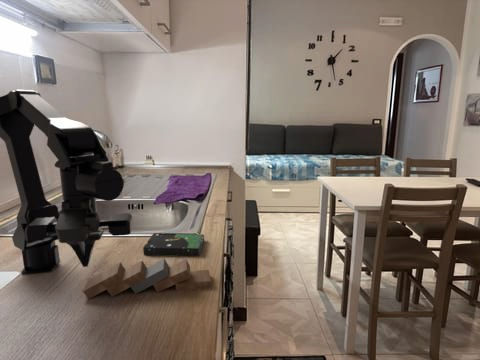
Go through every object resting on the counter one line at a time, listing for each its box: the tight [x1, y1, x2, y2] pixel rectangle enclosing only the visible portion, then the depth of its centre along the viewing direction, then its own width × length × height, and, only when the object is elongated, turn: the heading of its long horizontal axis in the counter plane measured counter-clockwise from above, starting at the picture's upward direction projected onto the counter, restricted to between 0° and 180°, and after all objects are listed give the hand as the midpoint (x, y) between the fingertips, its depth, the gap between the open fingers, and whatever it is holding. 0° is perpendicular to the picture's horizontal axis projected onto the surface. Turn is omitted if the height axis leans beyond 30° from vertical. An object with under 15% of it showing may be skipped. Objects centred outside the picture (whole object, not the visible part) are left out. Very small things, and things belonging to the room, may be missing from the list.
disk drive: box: [143, 232, 205, 257], centre depth 92 cm, size 10×3×15 cm
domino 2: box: [106, 260, 148, 298], centre depth 71 cm, size 2×5×8 cm
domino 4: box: [152, 258, 191, 293], centre depth 72 cm, size 2×5×8 cm
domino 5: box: [175, 269, 212, 291], centre depth 74 cm, size 2×5×8 cm
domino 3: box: [130, 258, 169, 294], centre depth 71 cm, size 2×5×8 cm
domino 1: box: [82, 262, 126, 300], centre depth 70 cm, size 2×5×8 cm
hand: (86, 265), depth 68 cm, fingers closed
